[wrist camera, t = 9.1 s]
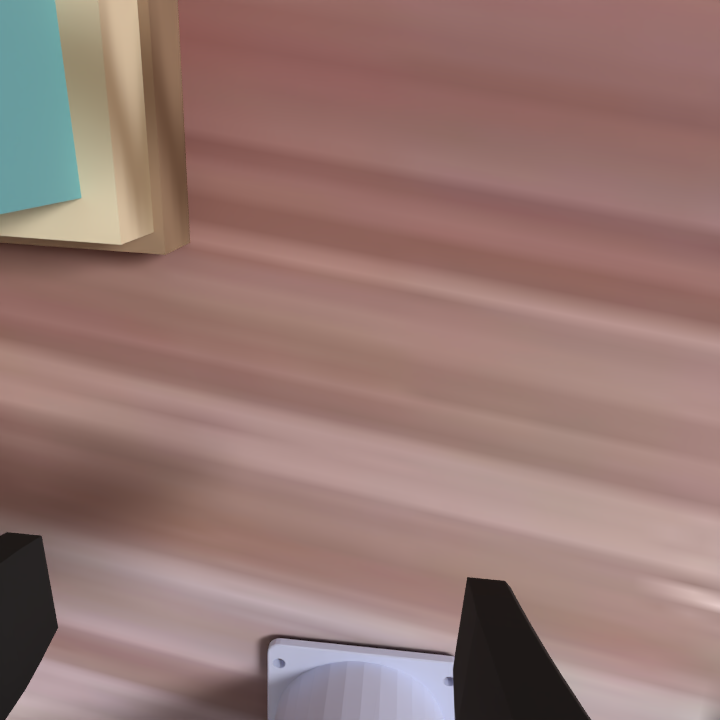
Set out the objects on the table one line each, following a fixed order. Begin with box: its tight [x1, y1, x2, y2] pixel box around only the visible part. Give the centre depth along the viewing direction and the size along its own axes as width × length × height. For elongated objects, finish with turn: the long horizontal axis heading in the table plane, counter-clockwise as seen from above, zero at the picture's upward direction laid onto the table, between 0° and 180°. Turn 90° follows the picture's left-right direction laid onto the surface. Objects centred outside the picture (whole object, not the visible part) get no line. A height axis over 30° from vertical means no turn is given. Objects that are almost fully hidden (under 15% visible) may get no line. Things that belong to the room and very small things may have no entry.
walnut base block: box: [0, 0, 190, 255], centre depth 16 cm, size 8×8×2 cm
